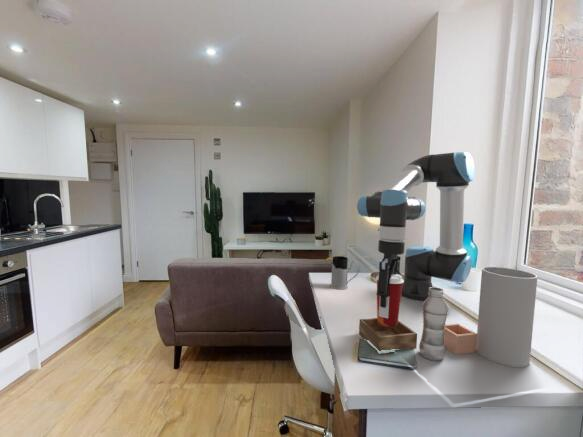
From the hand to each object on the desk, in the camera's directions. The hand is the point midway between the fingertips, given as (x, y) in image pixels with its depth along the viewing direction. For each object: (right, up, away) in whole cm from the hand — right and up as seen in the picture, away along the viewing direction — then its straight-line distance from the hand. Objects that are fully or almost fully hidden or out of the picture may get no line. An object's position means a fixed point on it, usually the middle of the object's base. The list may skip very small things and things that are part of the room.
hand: (387, 312), depth 88 cm
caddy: (0, -9, +1) cm, 9 cm away
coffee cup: (0, -3, 0) cm, 3 cm away
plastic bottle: (+10, -10, -8) cm, 16 cm away
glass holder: (-3, -6, +54) cm, 55 cm away
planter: (+20, -10, -2) cm, 23 cm away
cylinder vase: (+31, -11, -6) cm, 33 cm away
